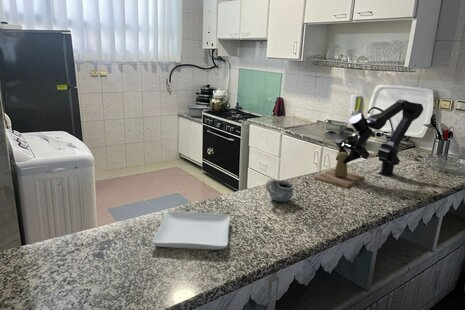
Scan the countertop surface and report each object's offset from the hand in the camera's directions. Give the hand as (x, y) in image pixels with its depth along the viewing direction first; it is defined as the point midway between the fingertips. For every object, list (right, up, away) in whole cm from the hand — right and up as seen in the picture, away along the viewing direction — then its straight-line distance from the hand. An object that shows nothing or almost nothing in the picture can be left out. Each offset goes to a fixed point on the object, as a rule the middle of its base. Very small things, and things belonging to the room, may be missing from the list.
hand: (339, 161), depth 162 cm
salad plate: (-63, -22, -57) cm, 88 cm away
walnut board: (+1, -8, +3) cm, 9 cm away
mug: (-33, -15, -28) cm, 46 cm away
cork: (+1, -7, +2) cm, 7 cm away
